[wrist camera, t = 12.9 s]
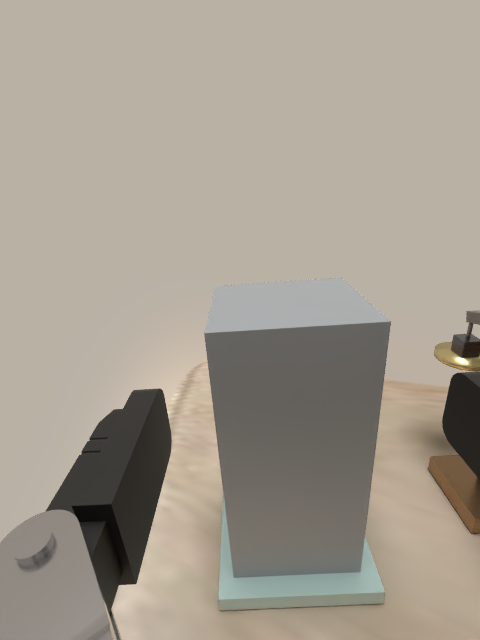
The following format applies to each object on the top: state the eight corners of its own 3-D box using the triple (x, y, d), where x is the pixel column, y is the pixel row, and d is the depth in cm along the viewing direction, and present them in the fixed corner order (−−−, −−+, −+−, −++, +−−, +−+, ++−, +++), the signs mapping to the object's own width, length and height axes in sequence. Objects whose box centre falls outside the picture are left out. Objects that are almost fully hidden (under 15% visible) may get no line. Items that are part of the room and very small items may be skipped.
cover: (330, 477, 19) (341, 277, 14) (360, 572, 14) (390, 321, 10) (234, 482, 19) (215, 286, 14) (233, 578, 14) (204, 333, 10)
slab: (339, 477, 20) (340, 467, 20) (383, 603, 14) (385, 592, 14) (225, 482, 20) (224, 473, 20) (219, 610, 14) (218, 599, 14)
